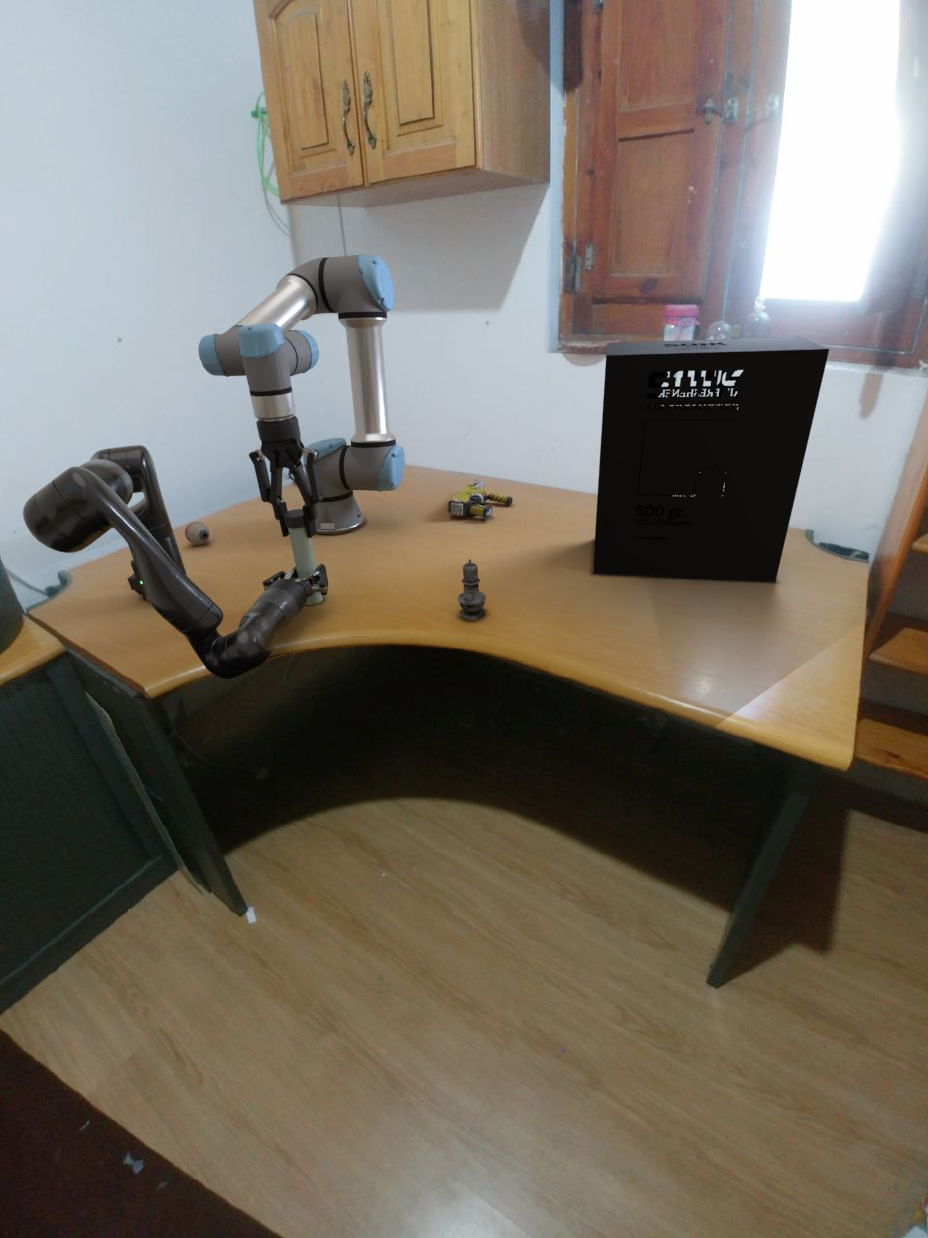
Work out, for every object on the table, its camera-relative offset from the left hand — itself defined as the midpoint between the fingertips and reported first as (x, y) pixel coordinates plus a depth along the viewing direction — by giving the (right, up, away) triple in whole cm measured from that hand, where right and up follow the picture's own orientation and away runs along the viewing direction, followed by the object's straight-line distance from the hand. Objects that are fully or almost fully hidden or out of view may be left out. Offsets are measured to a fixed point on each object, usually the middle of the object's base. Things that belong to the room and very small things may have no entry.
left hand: (312, 567), depth 130 cm
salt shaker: (+34, -10, -8) cm, 37 cm away
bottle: (0, -7, +1) cm, 7 cm away
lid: (-1, +10, -9) cm, 13 cm away
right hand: (-1, +6, -7) cm, 9 cm away
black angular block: (+82, +3, +9) cm, 82 cm away
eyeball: (-38, +9, +32) cm, 51 cm away
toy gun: (+39, +22, +46) cm, 64 cm away
